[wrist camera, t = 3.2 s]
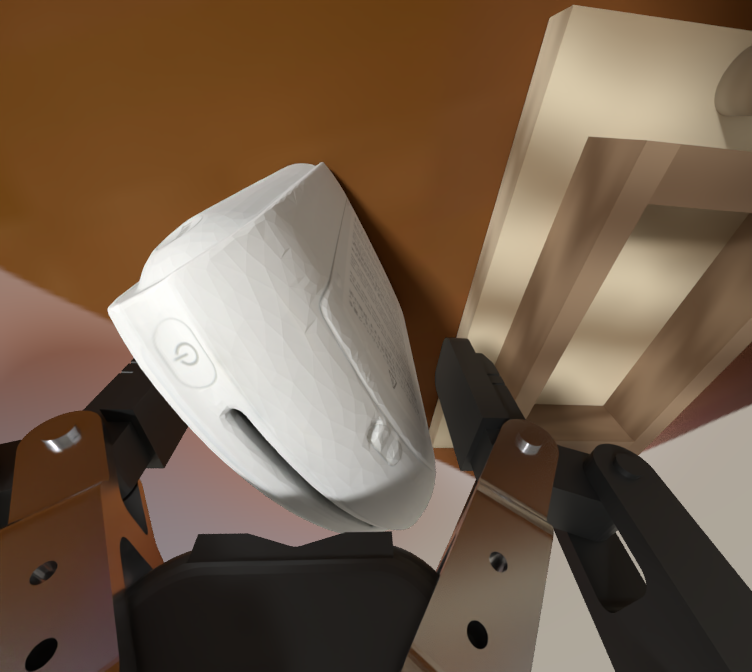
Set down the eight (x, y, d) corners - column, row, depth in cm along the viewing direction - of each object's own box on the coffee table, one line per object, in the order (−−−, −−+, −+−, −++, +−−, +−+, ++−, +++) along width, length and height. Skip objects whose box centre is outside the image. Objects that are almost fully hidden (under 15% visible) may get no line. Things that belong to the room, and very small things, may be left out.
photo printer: (243, 188, 14) (-62, 366, 4) (324, 140, 13) (203, 207, 3) (349, 346, 19) (340, 587, 9) (411, 320, 18) (474, 558, 8)
